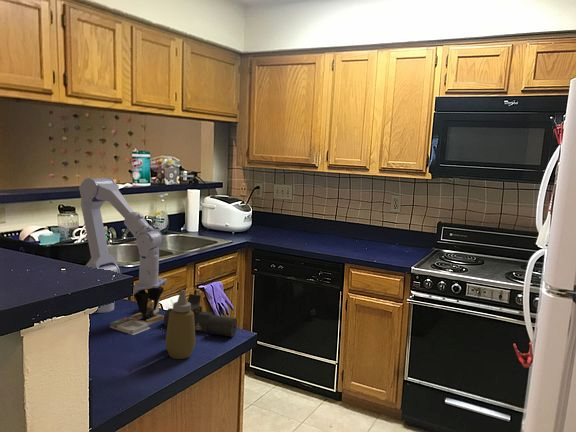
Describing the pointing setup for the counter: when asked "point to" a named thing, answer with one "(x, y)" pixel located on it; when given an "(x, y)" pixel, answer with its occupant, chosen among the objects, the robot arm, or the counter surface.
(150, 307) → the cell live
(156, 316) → the tan square tray
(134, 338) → the counter surface
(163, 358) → the counter surface
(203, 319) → the laser sight
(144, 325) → the cradle
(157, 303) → the cup
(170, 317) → the squeeze bottle
